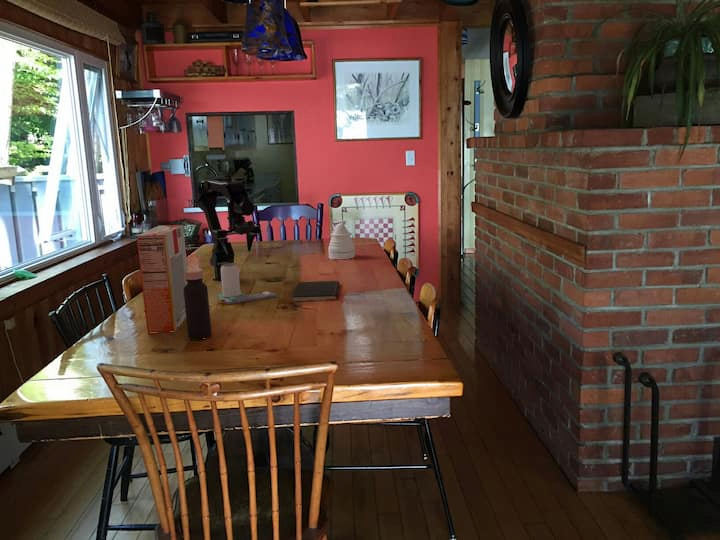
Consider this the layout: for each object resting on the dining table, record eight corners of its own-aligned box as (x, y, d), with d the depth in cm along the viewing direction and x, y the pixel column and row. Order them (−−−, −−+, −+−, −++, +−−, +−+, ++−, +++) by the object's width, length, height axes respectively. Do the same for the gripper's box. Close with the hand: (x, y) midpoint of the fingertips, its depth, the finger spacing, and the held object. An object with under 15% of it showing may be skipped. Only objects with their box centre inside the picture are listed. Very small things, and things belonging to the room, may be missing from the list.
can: (244, 295, 224) (241, 263, 222) (229, 298, 220) (226, 266, 217) (233, 292, 229) (231, 262, 226) (219, 296, 224) (216, 264, 221)
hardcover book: (291, 302, 214) (291, 296, 214) (299, 287, 237) (298, 281, 236) (336, 301, 214) (336, 295, 213) (339, 286, 236) (339, 280, 236)
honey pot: (360, 256, 296) (358, 219, 292) (345, 260, 285) (343, 223, 281) (338, 254, 303) (336, 218, 299) (323, 258, 292) (321, 222, 288)
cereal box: (168, 313, 205) (158, 225, 199) (191, 311, 205) (183, 224, 199) (147, 333, 183) (136, 236, 176) (174, 332, 183) (164, 234, 177)
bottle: (190, 342, 173) (183, 274, 169) (186, 335, 179) (180, 270, 175) (213, 338, 175) (207, 271, 171) (209, 332, 182) (203, 267, 177)
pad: (217, 295, 227) (217, 294, 227) (241, 292, 229) (241, 292, 229) (219, 300, 218) (219, 300, 218) (244, 298, 221) (244, 297, 221)
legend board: (227, 304, 213) (227, 300, 213) (223, 300, 218) (223, 297, 218) (276, 297, 221) (275, 293, 221) (271, 293, 226) (270, 290, 226)
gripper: (221, 218, 226) (224, 258, 229) (266, 213, 236) (268, 252, 239) (210, 216, 235) (213, 255, 238) (253, 211, 245) (256, 249, 248)
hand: (238, 253), depth 241 cm, fingers open, 9 cm apart
